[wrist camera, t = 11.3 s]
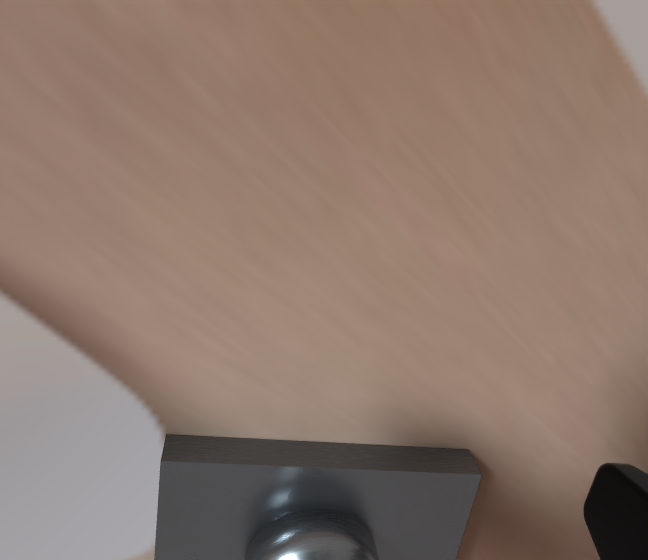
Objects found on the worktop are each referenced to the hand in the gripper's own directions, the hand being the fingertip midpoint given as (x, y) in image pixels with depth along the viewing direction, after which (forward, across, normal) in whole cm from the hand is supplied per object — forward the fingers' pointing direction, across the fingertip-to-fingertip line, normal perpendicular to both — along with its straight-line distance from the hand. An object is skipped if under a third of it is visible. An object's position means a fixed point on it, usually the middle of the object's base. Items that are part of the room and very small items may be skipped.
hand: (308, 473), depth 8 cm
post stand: (+12, -3, +13) cm, 18 cm away
